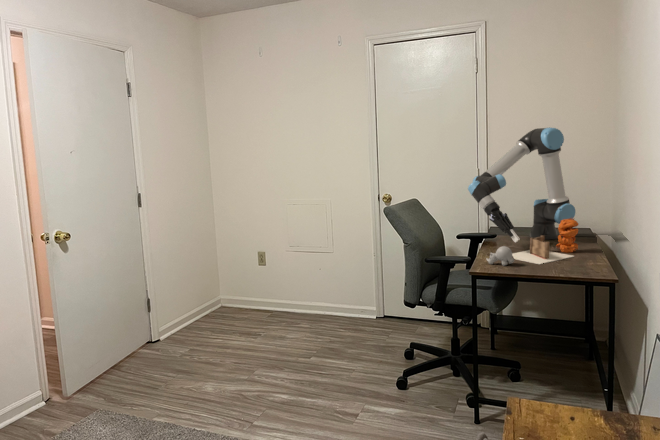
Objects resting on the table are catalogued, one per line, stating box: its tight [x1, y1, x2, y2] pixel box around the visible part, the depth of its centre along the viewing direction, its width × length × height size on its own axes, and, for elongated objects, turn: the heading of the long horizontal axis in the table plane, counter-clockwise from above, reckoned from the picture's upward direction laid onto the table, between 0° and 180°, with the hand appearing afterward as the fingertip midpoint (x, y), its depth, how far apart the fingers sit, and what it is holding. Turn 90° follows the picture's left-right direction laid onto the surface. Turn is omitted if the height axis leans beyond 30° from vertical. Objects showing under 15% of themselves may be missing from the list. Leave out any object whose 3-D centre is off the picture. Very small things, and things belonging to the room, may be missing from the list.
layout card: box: [512, 249, 575, 265], centre depth 250 cm, size 22×26×1 cm
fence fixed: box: [529, 235, 546, 254], centre depth 257 cm, size 11×2×8 cm, turn 126°
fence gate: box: [532, 239, 551, 258], centre depth 247 cm, size 13×2×8 cm, turn 8°
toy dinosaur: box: [555, 217, 579, 254], centre depth 258 cm, size 11×11×18 cm
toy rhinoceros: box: [486, 245, 515, 267], centre depth 235 cm, size 7×12×8 cm, turn 66°
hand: (517, 240), depth 256 cm, fingers closed
